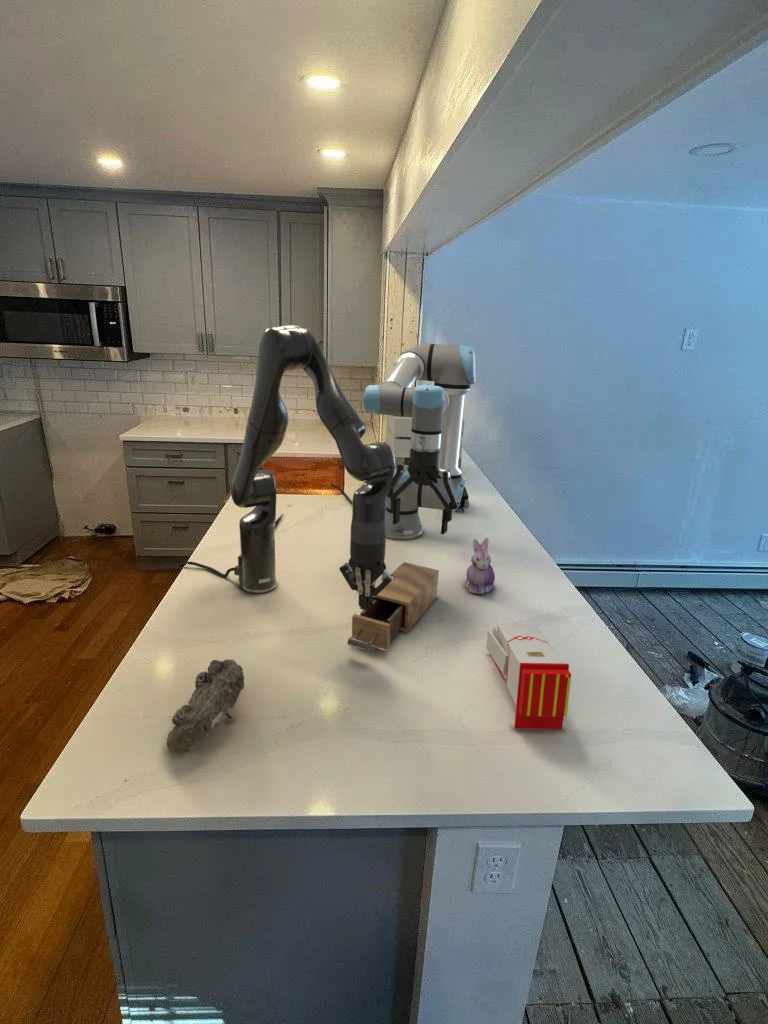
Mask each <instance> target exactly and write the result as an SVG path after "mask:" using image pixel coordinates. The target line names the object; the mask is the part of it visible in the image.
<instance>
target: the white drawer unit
mask: <svg viewBox="0 0 768 1024" xmlns="http://www.w3.org/2000/svg"><path fill="white" fill-rule="evenodd" d="M385 423H386V428H385V438H384V442H383V443H386V444H388V445H389V446H390V447H391V449H392V450H393V453H394V456H395V469H396V468H397V466H398V465H399V464H401V463H405V465H408V466H409V459H410V449H411V448H412V447H411V446H410V443H411V428H412V417H406V416H394V415H385ZM464 429H465V419H464V418H462V427H461V438H460V449H459V459H458V468H459V469H460V470H461V471H462V461H463V460H462V453H463V442H464V441H463V440H462V439H463V438H464V431H465V430H464Z"/></svg>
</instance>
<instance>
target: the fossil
mask: <svg viewBox="0 0 768 1024" xmlns="http://www.w3.org/2000/svg"><path fill="white" fill-rule="evenodd" d="M243 670H244V669H243V667H242V665H240V664H237V662H236V661H235V660H234V659H232V658H231V659H227V658H226V659H224V660H223V661H222V660H217V659H212V660H211V661H210V663H209V665H208V666H207V671H201V672H199V673H198V674H197V675H196V676H195V680H194V684H195V685H194V687H195V689H194V690H193V693H192V694H191V697H190V698H189V700H188V704H184V705H182V706H181V707H180V709H177V710H176V711H175V713H174V715H173V716H172V718H171V723H172V724H173V727H172V730H171V731H170V732H168V734H167V738H166V741H167V742H166V745H167V749H168V750H169V751H173V752H174V753H176V754H178V753H182V752H188V751H189V752H192V751H193V750H195V748H196V747H197V746H199V744H200V743H201V742H203V741H204V740H205V739H206V738H207V737H208V736H209V735H210V734H211V733H212V732H214V730H215V729H217V727H218V726H219V724H220V722H221V721H222V720H223V719H224V718H225V716H226V717H227V719H229V720H233V717H232V715H230V714H229V710H230V709H231V708H234V706H235V704H236V703H237V702H238V699H239V697H240V695H241V693H242V691H243V690H245V689H244V688H245V675H244V671H243Z"/></svg>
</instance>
